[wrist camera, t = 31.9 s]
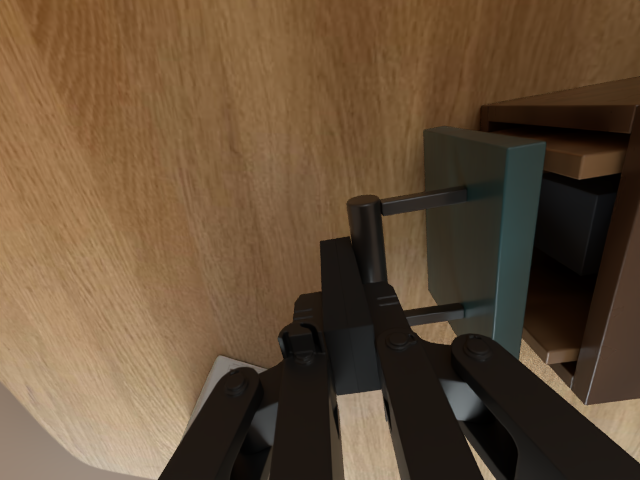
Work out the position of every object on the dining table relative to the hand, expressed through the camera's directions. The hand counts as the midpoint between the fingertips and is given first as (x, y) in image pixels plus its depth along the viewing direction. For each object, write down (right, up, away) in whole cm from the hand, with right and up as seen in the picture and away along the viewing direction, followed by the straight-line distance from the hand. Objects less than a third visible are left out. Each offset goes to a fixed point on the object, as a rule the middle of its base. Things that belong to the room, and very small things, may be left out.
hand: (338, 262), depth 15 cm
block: (+13, +3, +2) cm, 13 cm away
